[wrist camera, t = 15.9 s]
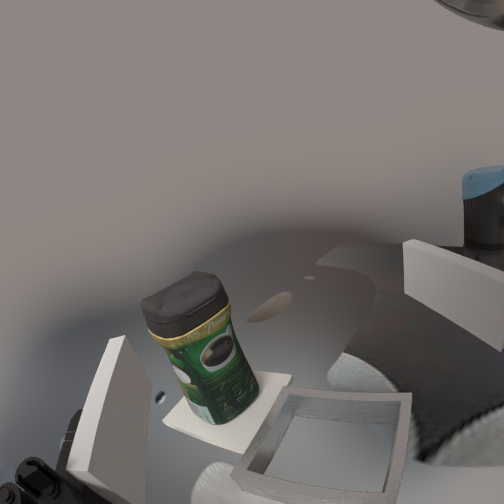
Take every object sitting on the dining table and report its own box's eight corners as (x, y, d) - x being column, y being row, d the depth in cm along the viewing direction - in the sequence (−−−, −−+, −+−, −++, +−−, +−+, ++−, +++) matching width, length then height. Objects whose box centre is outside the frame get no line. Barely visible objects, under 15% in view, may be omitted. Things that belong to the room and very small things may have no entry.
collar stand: (288, 407, 32) (283, 385, 30) (406, 415, 24) (412, 392, 23) (242, 490, 21) (229, 475, 19) (387, 515, 13) (395, 504, 12)
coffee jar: (231, 372, 40) (191, 263, 34) (269, 390, 34) (233, 268, 29) (183, 409, 33) (126, 296, 28) (219, 436, 28) (156, 312, 23)
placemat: (215, 366, 43) (213, 362, 43) (293, 379, 37) (292, 374, 36) (165, 424, 32) (162, 420, 32) (250, 456, 25) (248, 452, 25)
